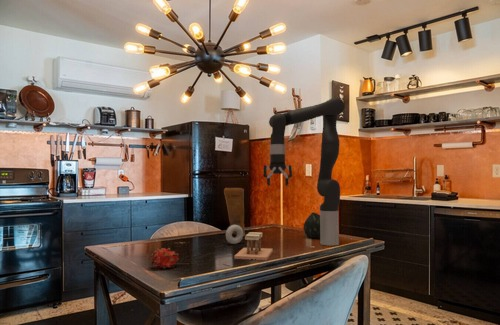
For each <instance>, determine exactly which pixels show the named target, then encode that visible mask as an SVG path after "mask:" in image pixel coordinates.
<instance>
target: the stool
mask: <svg viewBox="0 0 500 325" xmlns="http://www.w3.org/2000/svg"><path fill="white" fill-rule="evenodd" d="M262 237H264V236H263V232H256V231H255V232H252V231H251V232H248V233H247V234H245V236H244V240H246V248H247V254H250V248H251V251H253V248H255V254H258V251H261V248H262Z"/></svg>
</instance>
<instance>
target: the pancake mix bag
mask: <svg viewBox="0 0 500 325" xmlns="http://www.w3.org/2000/svg"><path fill="white" fill-rule="evenodd" d="M244 192H245V189H244V188H242V187H225V188H224V189H223V194H224V198H225V203H226V207H227V213H228V220H229V227H230V226H231V225H238V226H240V227H241V228H242V230H243V237H245V236H246V233H245V202H244V201H245V198H244V197H245V193H244ZM232 235H234V236H237V232H236V231H234V232H233V233H232Z"/></svg>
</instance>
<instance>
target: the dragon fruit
mask: <svg viewBox="0 0 500 325" xmlns="http://www.w3.org/2000/svg"><path fill="white" fill-rule="evenodd" d="M180 258H181V256H180V254H179V253H177V252H176V251H174V250H171V248H170V247H167V248H166V247H162V248H161V249H160V248H156V250H154V251H153V252H152V253H151V254H150V258H149V260H150V261H151V266H153V267H155V266H156V267H157V269H161V268H162V269H163V270H164V269H166V268H169V269H172V268H174V267H175V264H177V263H178V261H179V260H180Z"/></svg>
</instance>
